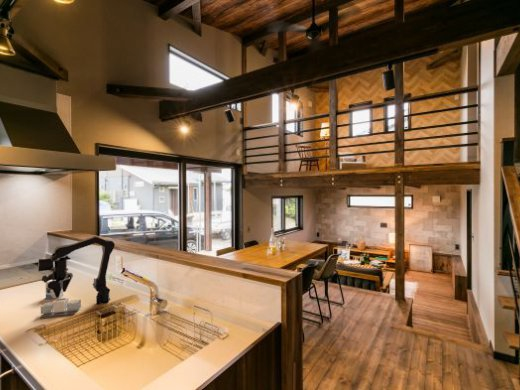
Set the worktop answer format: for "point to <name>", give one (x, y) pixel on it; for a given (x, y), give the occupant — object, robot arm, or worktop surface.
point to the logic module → (60, 304)
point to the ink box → (51, 292)
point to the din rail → (49, 312)
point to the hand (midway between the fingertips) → (61, 294)
